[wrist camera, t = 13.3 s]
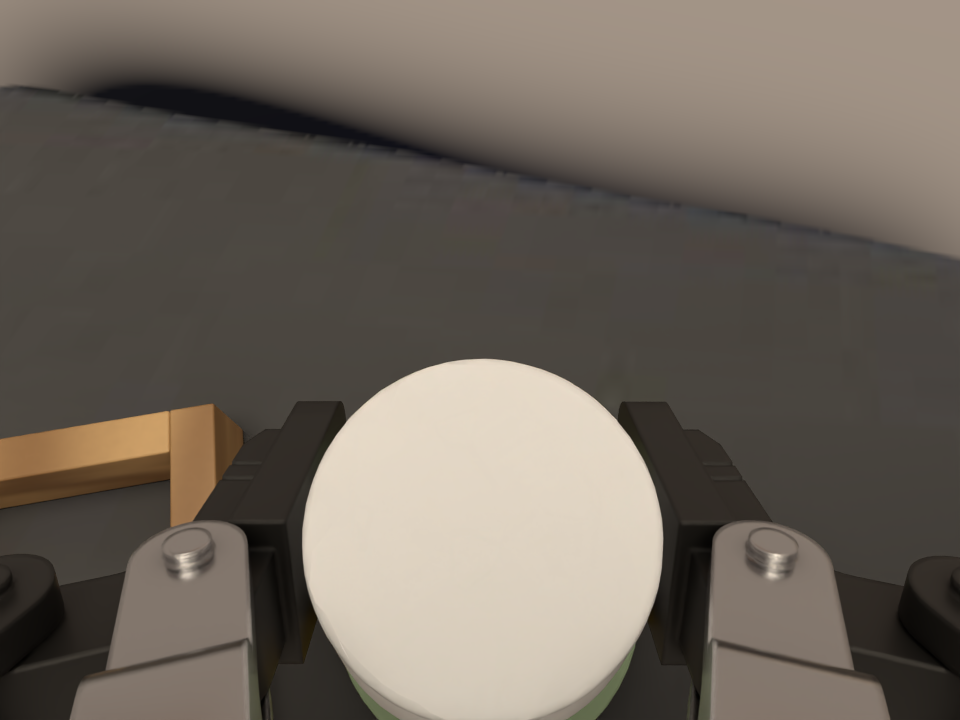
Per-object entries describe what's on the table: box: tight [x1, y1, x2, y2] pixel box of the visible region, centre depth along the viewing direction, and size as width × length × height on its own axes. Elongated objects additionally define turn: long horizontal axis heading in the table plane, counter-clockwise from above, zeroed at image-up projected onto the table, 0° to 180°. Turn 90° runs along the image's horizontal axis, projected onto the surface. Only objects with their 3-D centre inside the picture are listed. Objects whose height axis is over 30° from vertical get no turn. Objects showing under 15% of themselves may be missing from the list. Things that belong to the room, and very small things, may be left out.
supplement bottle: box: [302, 359, 663, 720], centre depth 11 cm, size 5×5×8 cm
